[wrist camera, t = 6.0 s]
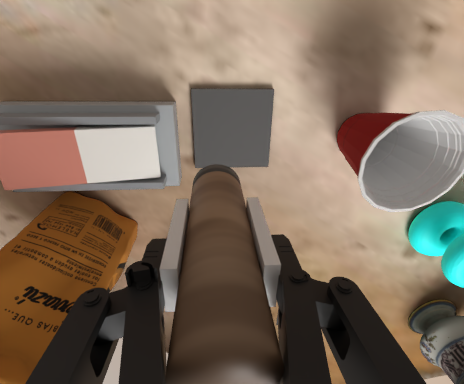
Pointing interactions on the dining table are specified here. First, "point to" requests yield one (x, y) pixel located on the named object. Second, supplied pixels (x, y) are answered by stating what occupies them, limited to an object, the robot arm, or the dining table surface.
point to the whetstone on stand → (103, 114)
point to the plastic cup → (404, 156)
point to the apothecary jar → (441, 336)
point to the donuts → (441, 237)
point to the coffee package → (55, 274)
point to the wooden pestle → (221, 293)
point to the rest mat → (232, 126)
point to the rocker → (77, 155)
